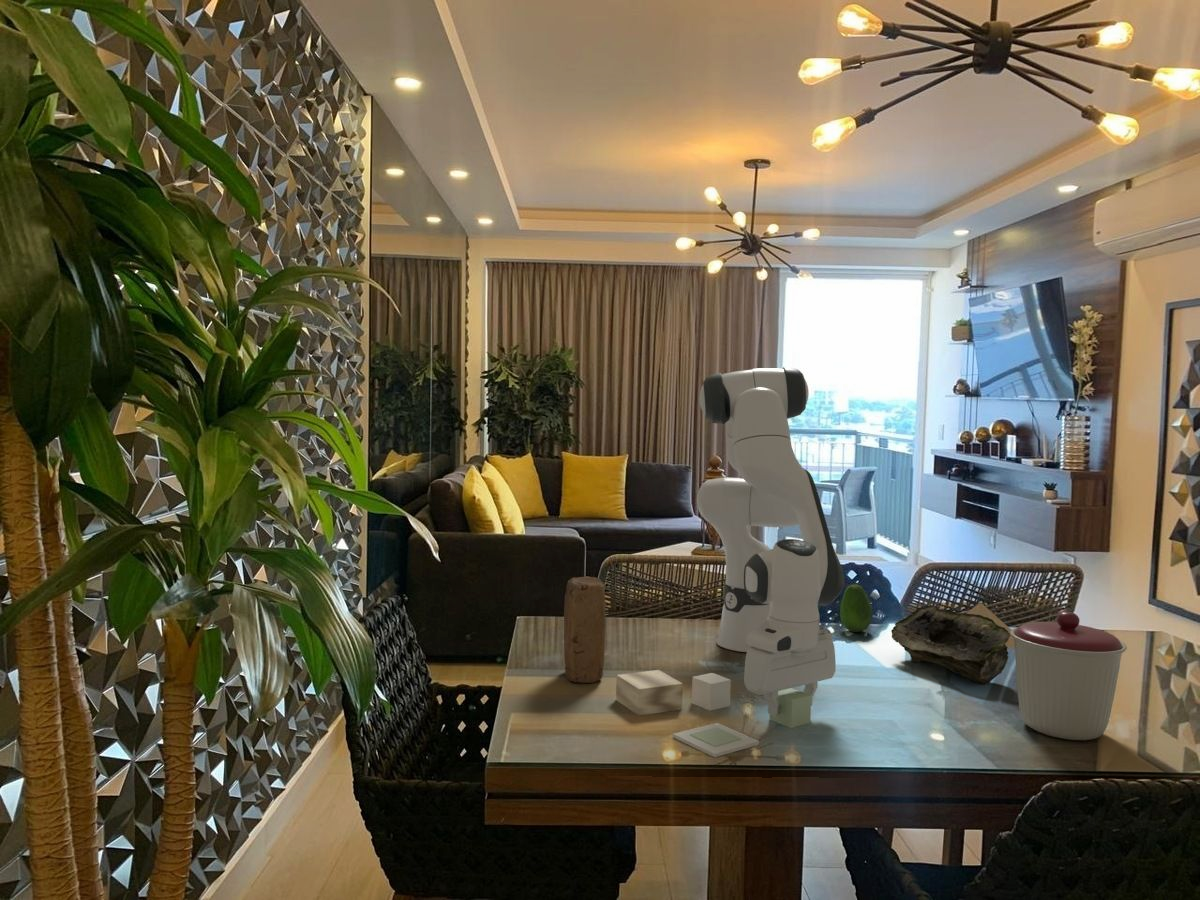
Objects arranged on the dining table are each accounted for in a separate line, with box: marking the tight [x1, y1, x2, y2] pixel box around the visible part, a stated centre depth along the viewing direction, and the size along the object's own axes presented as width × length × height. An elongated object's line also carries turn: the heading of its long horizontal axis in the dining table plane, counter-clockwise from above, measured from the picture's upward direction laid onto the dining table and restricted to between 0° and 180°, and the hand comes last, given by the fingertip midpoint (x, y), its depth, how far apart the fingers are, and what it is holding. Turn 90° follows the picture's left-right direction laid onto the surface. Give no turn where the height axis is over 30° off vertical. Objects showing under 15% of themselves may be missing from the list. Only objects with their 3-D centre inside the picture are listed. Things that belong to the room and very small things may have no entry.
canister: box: [1010, 611, 1128, 741], centre depth 157 cm, size 18×18×21 cm
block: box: [563, 576, 606, 684], centre depth 180 cm, size 11×8×20 cm
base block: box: [615, 669, 684, 716], centre depth 165 cm, size 9×9×5 cm
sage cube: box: [769, 688, 812, 729], centre depth 158 cm, size 5×5×5 cm
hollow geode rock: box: [890, 604, 1010, 685], centre depth 191 cm, size 28×13×15 cm
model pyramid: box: [965, 601, 1015, 651], centre depth 218 cm, size 17×17×10 cm
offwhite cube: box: [691, 672, 732, 711], centre depth 166 cm, size 5×5×5 cm
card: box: [672, 722, 760, 758], centre depth 148 cm, size 10×10×1 cm
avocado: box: [839, 583, 873, 633], centre depth 223 cm, size 8×8×12 cm
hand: (790, 710), depth 158 cm, fingers open, 7 cm apart
